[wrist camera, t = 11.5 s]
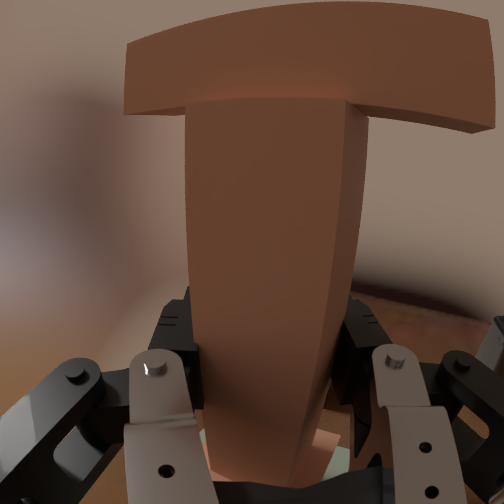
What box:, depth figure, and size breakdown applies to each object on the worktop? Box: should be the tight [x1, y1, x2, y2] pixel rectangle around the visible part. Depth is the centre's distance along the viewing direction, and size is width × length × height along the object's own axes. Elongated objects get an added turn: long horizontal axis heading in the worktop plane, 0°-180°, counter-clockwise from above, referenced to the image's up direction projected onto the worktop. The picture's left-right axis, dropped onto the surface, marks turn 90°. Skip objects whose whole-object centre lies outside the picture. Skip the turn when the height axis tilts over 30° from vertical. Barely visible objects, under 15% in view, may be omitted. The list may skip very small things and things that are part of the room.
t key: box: [124, 2, 495, 489], centre depth 8 cm, size 8×5×17 cm, turn 62°
